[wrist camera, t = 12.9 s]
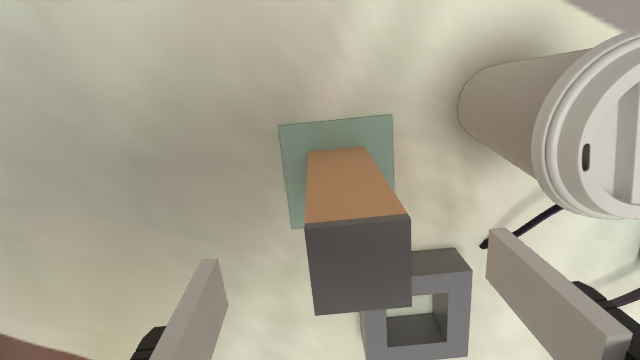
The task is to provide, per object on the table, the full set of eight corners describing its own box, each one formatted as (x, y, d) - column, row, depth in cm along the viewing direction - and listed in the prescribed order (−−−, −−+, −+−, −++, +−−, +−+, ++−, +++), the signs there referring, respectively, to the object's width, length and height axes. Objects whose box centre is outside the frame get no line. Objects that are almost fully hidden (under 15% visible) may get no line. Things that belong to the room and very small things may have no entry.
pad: (292, 227, 33) (291, 228, 32) (278, 125, 29) (277, 126, 29) (394, 217, 32) (395, 219, 32) (391, 114, 29) (392, 114, 29)
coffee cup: (457, 35, 27) (615, 2, 13) (566, 55, 28) (829, 44, 14) (427, 148, 30) (528, 221, 16) (526, 163, 31) (708, 246, 17)
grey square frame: (361, 335, 37) (367, 366, 33) (355, 257, 34) (361, 281, 30) (451, 326, 37) (467, 356, 33) (454, 247, 34) (472, 270, 30)
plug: (313, 203, 31) (315, 315, 17) (308, 151, 30) (304, 229, 16) (366, 197, 31) (411, 306, 17) (363, 146, 30) (410, 218, 16)
